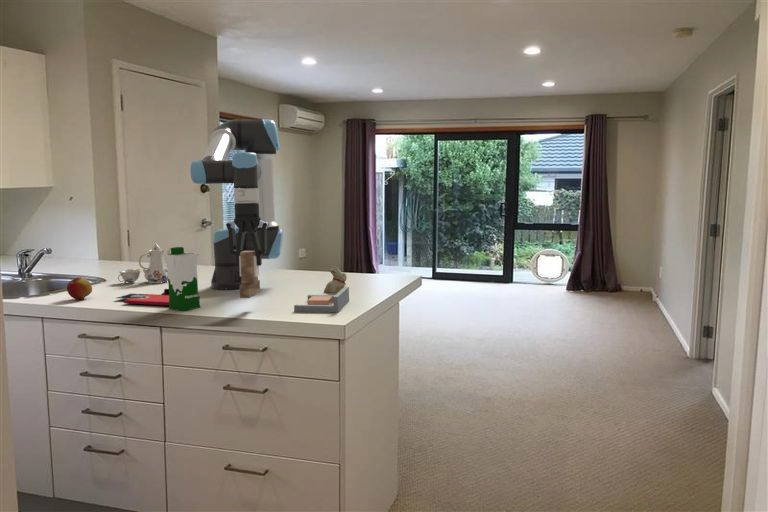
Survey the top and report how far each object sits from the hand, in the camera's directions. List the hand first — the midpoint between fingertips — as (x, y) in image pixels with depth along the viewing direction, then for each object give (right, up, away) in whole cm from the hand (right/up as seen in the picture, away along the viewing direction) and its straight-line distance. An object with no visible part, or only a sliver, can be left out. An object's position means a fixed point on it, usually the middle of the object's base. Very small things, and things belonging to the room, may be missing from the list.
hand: (249, 275), depth 193 cm
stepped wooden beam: (0, -6, +1) cm, 6 cm away
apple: (-66, -10, +25) cm, 71 cm away
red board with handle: (-37, -10, +19) cm, 43 cm away
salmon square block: (+22, -11, +8) cm, 25 cm away
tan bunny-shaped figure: (+25, -7, +33) cm, 42 cm away
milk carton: (-23, -11, +8) cm, 27 cm away
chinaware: (-54, -5, +62) cm, 82 cm away
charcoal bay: (+22, -10, +8) cm, 26 cm away
